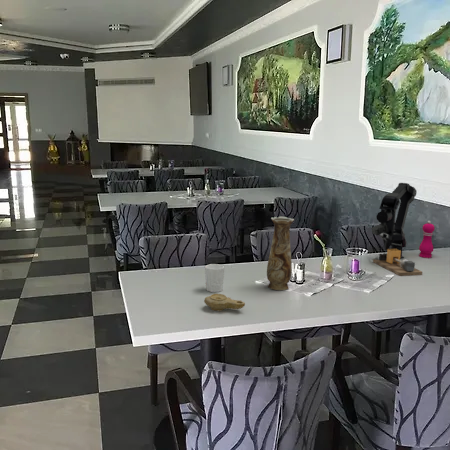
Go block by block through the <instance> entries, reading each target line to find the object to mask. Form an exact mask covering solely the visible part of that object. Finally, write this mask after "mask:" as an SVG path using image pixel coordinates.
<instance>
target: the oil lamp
mask: <svg viewBox="0 0 450 450" xmlns="http://www.w3.org/2000/svg"><path fill="white" fill-rule="evenodd" d="M203 302H204V304H205V305H206V306H208V307H209V308H210V309H211V310H212V311H215V312H220V311H222V312H223V310H227V309H229V310H241V309H243V308H244V307H245V305H246V303H245V301H242V300H238V299H237V300H236V299H232V298H231V297H228V296H226V295H225V294H222V293H213V294H211V295H209V296H206V297H205V298H204V301H203Z"/></svg>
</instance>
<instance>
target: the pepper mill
mask: <svg viewBox="0 0 450 450" xmlns="http://www.w3.org/2000/svg"><path fill="white" fill-rule="evenodd" d="M434 231H435V225H434V224H433V223H432V222H431V220H427V223H425V224H423V225H422V235H423V238H422V241H421V243H420V245H419V248H418V250H419V254H418V256H419V257H420V258H424V259H431V258H432V256H433V254H432V253H433V252H434V245H433V242H432V238H433V237H432V236H433V234H434V233H433V232H434Z"/></svg>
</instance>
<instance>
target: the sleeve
mask: <svg viewBox="0 0 450 450" xmlns="http://www.w3.org/2000/svg"><path fill="white" fill-rule="evenodd" d="M386 251H387V252H386V254H387V260H386V262H388V263H390V264H393V257H394V258H396V259H398V260H400V261H401V258H400V255H401V250H398V249H390V248H389V249H387V250H386ZM394 262H396V263H399V262H397V261H395V260H394Z"/></svg>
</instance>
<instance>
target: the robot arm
mask: <svg viewBox="0 0 450 450" xmlns="http://www.w3.org/2000/svg"><path fill="white" fill-rule="evenodd" d="M416 196H417V189H416V188H415V187H414V186H412V185H411V184H410V183H407V182H399V183H398V184H397V186H396V188H394V189H393V191H392V192H390V193H386V194H385V195H384V196H383V197H382V200H381V202H380V205H379V210H380V211H378V213H377V214H376V220H377V222H378V223H380V224H378V225H375V226H373V227H371V232H372V234H373V235H375V236H379V237H380V238H381V239H382V242H383V246H384V250H385V251H387V249H398V250H401V255H400V259H405V256H403V248H406V247H407V238H406V236H405V235H406V234H405V231H404V228H405V223H406V220H407V216H408V212H409V207H410V204H411V203H412V202H414V200H415V197H416ZM397 209H398V212H397ZM396 212H397V214H396Z"/></svg>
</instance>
